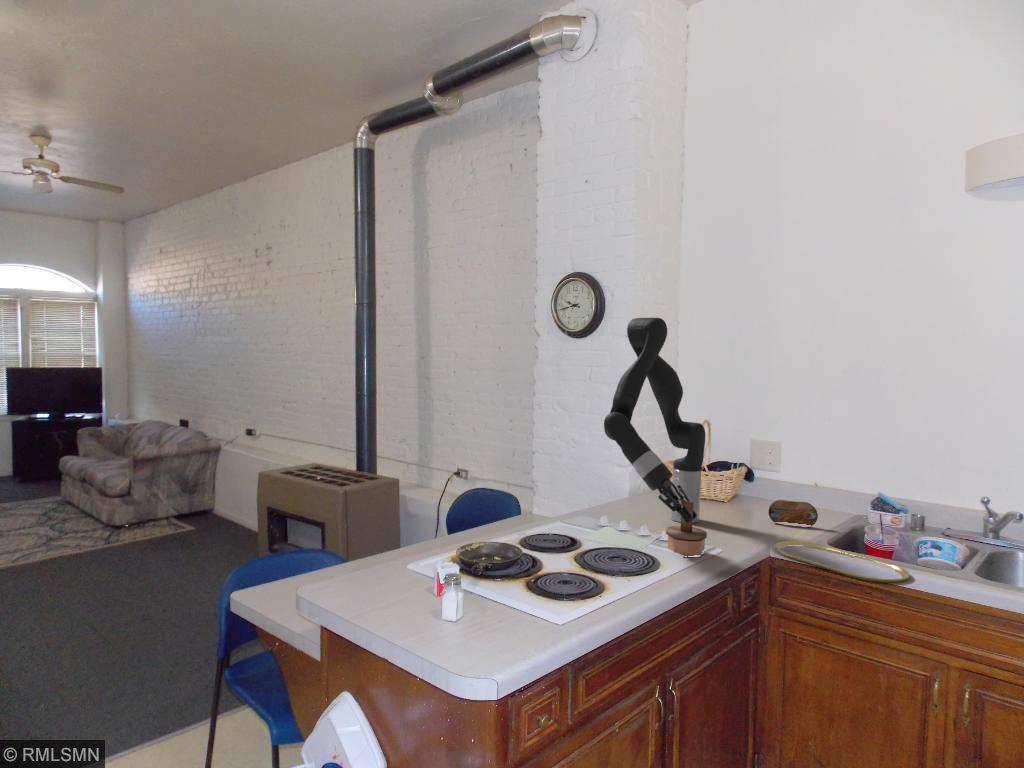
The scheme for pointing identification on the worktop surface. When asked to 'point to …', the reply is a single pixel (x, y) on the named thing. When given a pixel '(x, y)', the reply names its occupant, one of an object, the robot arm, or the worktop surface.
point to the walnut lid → (686, 527)
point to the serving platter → (897, 569)
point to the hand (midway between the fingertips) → (692, 519)
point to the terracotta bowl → (686, 546)
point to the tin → (793, 512)
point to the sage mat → (618, 538)
